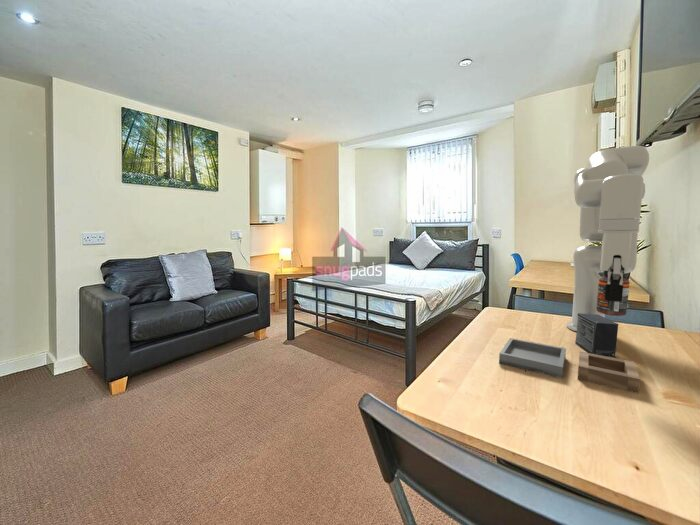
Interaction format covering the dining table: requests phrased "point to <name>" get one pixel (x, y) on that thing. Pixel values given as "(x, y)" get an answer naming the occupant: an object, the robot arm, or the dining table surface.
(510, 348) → the tray
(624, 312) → the supplement bottle
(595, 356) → the holder block
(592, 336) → the small box
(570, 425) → the dining table surface
